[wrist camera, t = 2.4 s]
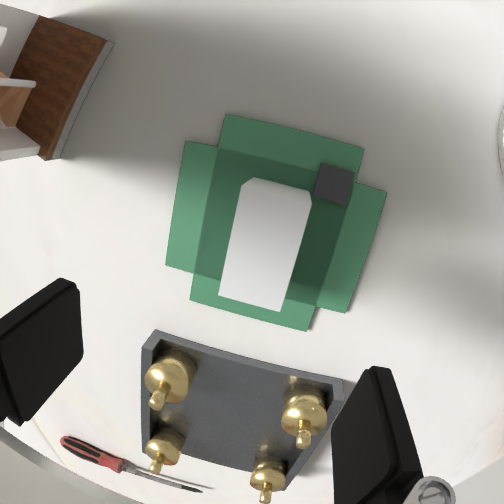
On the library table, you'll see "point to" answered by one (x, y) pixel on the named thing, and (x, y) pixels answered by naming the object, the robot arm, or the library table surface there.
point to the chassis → (232, 410)
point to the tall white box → (43, 81)
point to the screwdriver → (110, 461)
